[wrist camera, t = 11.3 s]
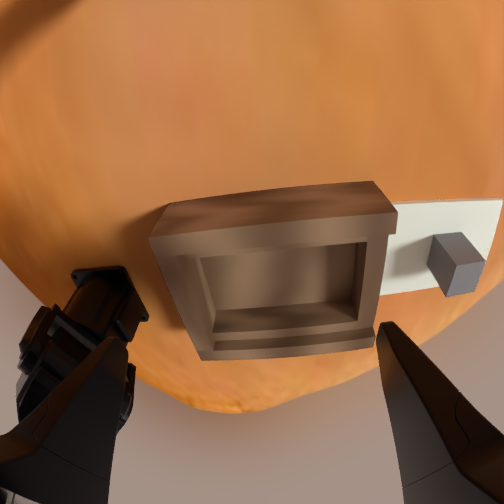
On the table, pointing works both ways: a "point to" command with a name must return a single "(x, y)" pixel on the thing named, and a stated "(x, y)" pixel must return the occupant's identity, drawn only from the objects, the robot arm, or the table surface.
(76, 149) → the table surface
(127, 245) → the table surface
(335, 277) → the box
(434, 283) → the cover
